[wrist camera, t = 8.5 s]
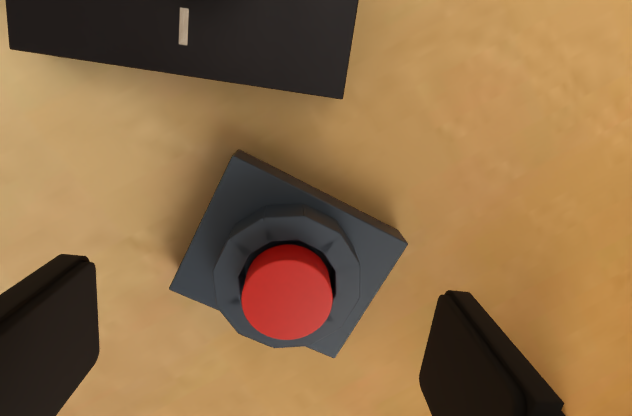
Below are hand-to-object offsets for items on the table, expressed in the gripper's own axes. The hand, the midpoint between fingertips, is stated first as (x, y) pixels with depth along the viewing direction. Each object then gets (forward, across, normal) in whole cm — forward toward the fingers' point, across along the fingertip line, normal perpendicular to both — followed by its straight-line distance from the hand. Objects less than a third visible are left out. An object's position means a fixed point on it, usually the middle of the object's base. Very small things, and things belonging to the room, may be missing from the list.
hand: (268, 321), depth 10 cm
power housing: (+11, 0, +3) cm, 11 cm away
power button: (+7, -1, +3) cm, 8 cm away
